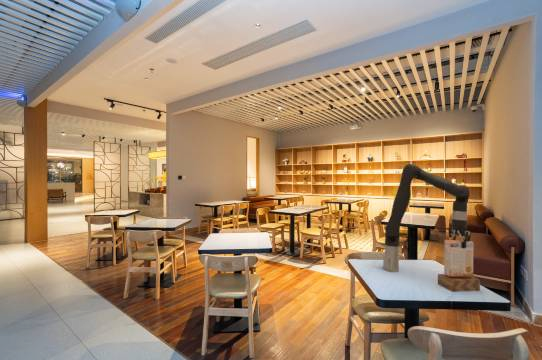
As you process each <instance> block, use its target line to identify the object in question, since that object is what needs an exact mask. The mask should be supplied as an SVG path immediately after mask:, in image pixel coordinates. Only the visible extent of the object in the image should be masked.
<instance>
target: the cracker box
mask: <svg viewBox="0 0 542 360" xmlns="http://www.w3.org/2000/svg"><path fill="white" fill-rule="evenodd" d="M461 245H462V240H461V239H456V240H452V239H444V250H443V251H444V257H443V258H444V260H443V263H444V264H443V265H444V266H443V267H444V268H443V274H446V275H448V276H450V277H474V246H475V245H474V241H472V240H470V242H466V248H461Z"/></svg>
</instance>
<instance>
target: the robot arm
mask: <svg viewBox="0 0 542 360" xmlns="http://www.w3.org/2000/svg"><path fill="white" fill-rule="evenodd" d="M413 180H419V181H422V182H425V183H427V184H429V185H431V186H433V187H435V188H437V189H439V190H441V191H444V192H446V193H447V194H449V195H452V196H454V197H455V200H454V201H453V202H452V214H451V226H452V227H448V237H449V238H451V239H450V240H457V239H458V237H459V238H460V240H462V245H461V248H466V242H470V241H471V236H472V231H469V230H467V228H468V203H469V199H470V188H469V187H468V186H466V185H464V184H463V185H462V184H457V183H455V182H452V181H451V180H449V179H447V178H445V177H442V176H439V175H436V174H433V173H430V172H428V171H426V170H424V169H422V168H421V167H419V166H418V165H415V164H413V163H408V164H406V165H404V167H403V170H402V173H401V175H400V182H399V185H398V188H397V191H396V193H395V194H396V195H395V197H394V200H393V204H392V208H391V213H390V217H389V219H388V222H387V223H386V224H385V227H384V231H385V233H384V235H385V236H384V254H383V256H382V257H383V258H382V260H383V263H382V269H384V270H385V271H387V272H399V270H400V235H401V231H400V230H401V229H400V228H401V224H402V220H403V218H404V215H405V213H406V211H407V209H408V207H409V204H410V201H411V193H412V192H411V185H412V183H413Z"/></svg>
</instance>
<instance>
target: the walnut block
mask: <svg viewBox="0 0 542 360" xmlns="http://www.w3.org/2000/svg"><path fill="white" fill-rule="evenodd" d="M437 285H438V286H440V287H443V288H445V289H446V290H448V291H450V292H469V291H470V292H471V291H480V290H481V289H480V288H481V279H479V278H476V277H474V276H473V277H450V276H448V275H446V274H444V273H437Z"/></svg>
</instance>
